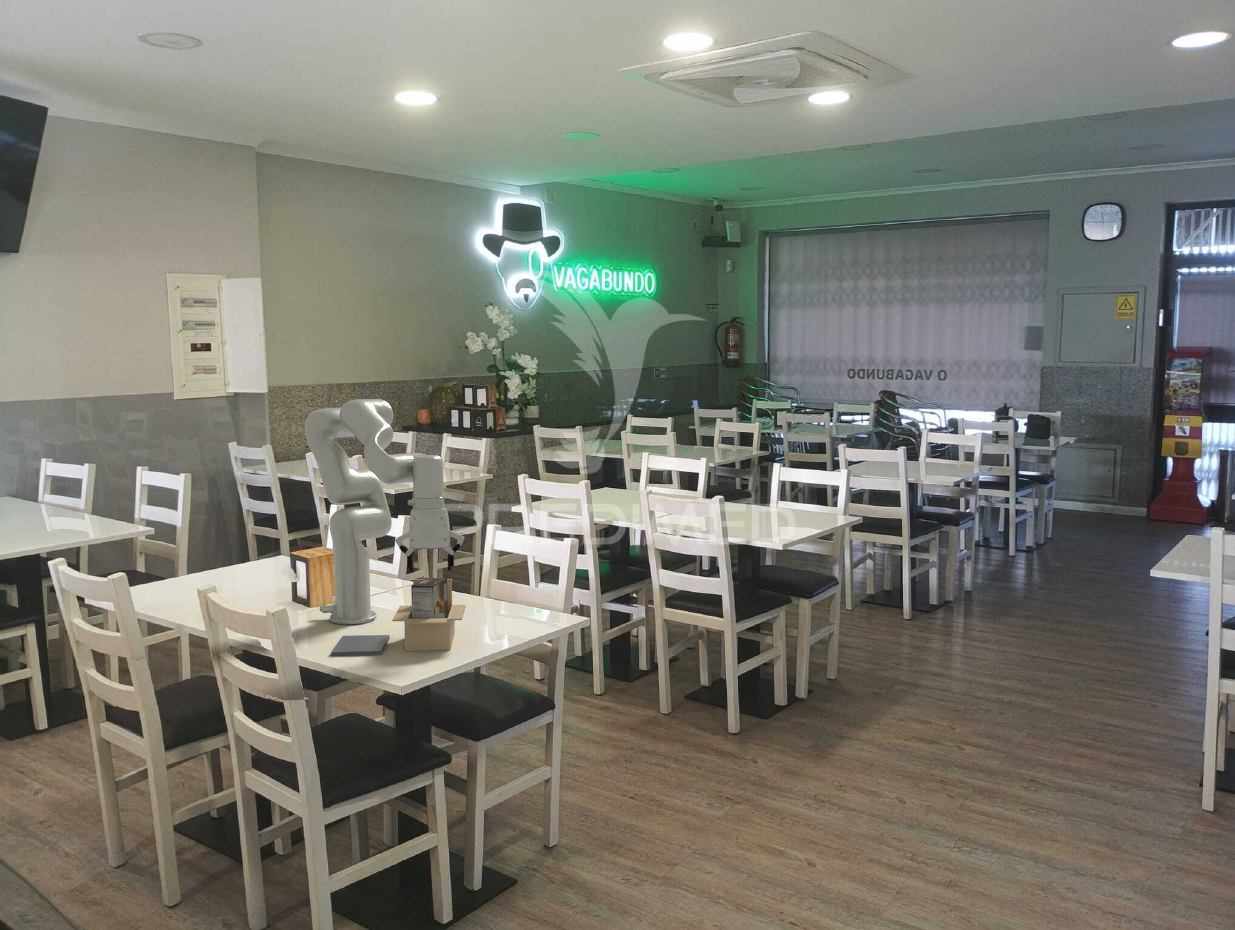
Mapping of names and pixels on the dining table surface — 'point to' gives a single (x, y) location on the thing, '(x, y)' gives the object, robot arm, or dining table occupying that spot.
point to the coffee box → (430, 599)
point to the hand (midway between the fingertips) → (430, 570)
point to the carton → (430, 626)
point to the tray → (360, 645)
